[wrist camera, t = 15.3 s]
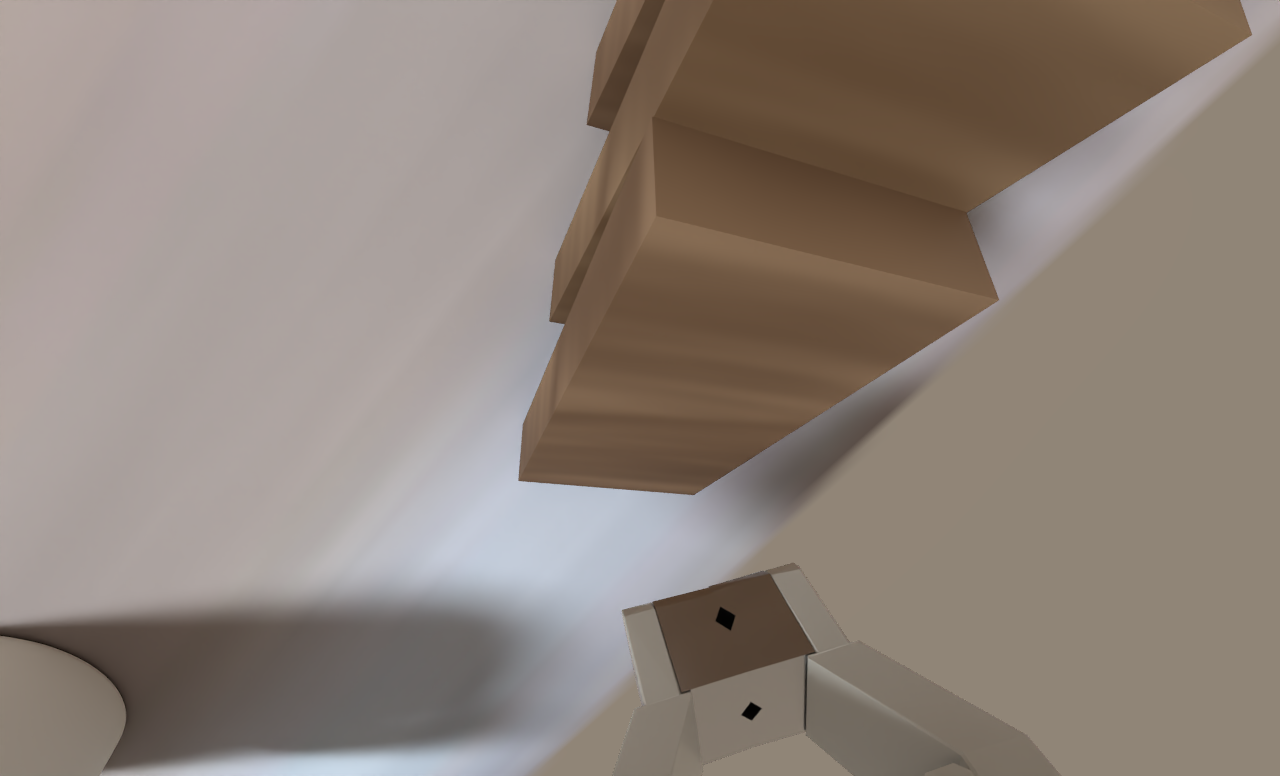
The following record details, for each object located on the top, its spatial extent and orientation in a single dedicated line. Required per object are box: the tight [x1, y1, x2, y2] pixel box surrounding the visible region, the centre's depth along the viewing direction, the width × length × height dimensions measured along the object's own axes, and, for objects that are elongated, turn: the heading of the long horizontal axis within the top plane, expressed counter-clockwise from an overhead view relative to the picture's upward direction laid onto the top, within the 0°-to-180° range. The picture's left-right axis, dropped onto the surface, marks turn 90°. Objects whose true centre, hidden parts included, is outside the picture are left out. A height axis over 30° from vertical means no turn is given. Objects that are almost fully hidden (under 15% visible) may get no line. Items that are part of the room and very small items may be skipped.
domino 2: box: [518, 117, 999, 495], centre depth 11 cm, size 2×5×10 cm
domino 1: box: [549, 0, 1252, 324], centre depth 9 cm, size 2×5×10 cm
